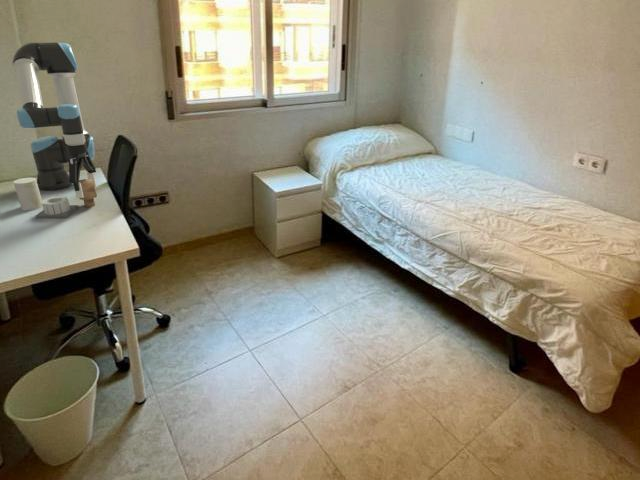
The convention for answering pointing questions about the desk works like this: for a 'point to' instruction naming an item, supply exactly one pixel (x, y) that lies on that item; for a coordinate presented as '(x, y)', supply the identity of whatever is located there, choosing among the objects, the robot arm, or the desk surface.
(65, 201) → the socket
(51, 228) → the desk surface
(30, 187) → the cup
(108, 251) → the desk surface
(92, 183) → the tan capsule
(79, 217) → the desk surface
